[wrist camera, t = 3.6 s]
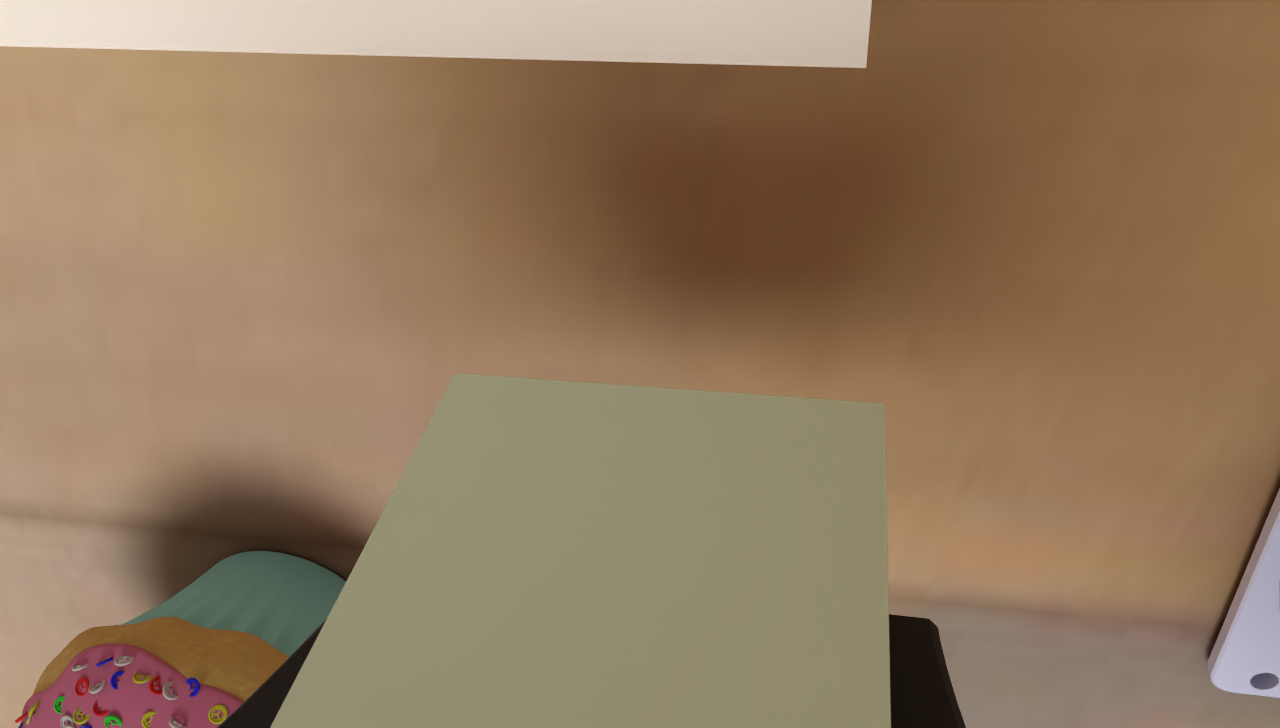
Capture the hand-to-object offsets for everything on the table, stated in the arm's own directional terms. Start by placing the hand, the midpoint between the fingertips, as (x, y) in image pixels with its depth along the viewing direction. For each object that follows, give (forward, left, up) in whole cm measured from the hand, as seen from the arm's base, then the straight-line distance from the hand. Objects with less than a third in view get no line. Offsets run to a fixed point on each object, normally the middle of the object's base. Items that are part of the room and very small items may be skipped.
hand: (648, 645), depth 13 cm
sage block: (0, 0, -2) cm, 2 cm away
